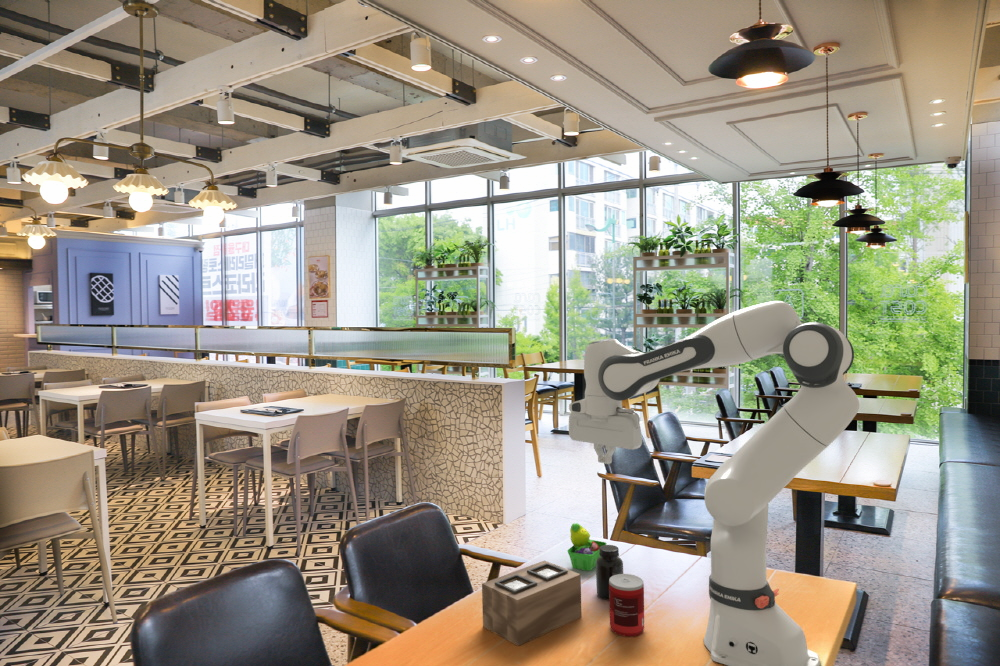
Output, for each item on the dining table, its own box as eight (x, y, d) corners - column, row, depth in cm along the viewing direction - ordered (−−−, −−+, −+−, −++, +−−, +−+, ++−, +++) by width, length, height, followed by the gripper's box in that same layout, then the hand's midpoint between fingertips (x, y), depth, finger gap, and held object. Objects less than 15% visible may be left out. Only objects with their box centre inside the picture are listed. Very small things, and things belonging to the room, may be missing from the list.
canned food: (631, 618, 154) (631, 571, 153) (651, 633, 146) (650, 584, 146) (603, 624, 151) (602, 576, 151) (621, 640, 143) (620, 590, 143)
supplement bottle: (622, 589, 169) (622, 543, 169) (625, 601, 163) (624, 553, 162) (595, 589, 170) (594, 542, 170) (596, 600, 163) (596, 552, 163)
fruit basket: (592, 574, 180) (591, 532, 180) (562, 568, 185) (561, 528, 184) (608, 560, 190) (607, 521, 189) (579, 554, 194) (579, 516, 194)
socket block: (581, 616, 155) (580, 571, 155) (518, 646, 142) (517, 597, 142) (545, 600, 164) (544, 558, 164) (482, 626, 151) (481, 580, 151)
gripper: (646, 408, 154) (648, 467, 154) (580, 401, 169) (582, 455, 170) (630, 411, 150) (631, 472, 150) (563, 404, 165) (565, 459, 166)
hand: (604, 462), depth 160 cm, fingers closed
